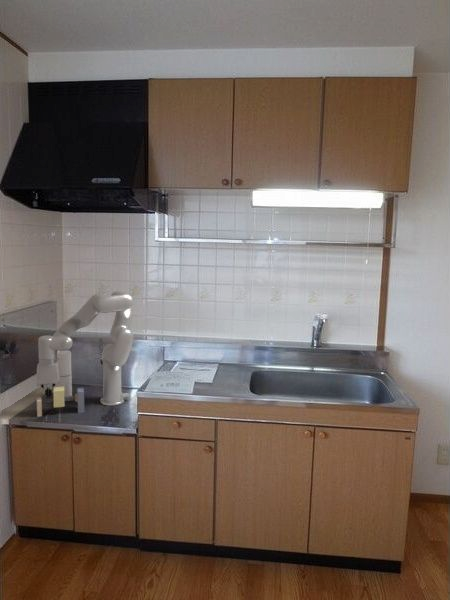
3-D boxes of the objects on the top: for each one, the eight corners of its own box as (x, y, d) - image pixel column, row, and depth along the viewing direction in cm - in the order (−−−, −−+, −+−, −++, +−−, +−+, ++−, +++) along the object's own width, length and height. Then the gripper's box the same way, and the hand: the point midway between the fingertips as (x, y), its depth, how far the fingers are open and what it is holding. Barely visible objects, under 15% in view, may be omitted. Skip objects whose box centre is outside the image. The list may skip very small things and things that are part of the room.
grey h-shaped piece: (83, 407, 231) (83, 387, 229) (84, 412, 226) (84, 391, 224) (37, 412, 224) (37, 391, 222) (37, 417, 218) (36, 395, 216)
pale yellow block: (64, 402, 227) (64, 386, 226) (64, 406, 222) (64, 390, 220) (54, 403, 226) (53, 387, 224) (53, 407, 220) (53, 391, 219)
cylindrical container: (67, 399, 242) (66, 354, 238) (55, 397, 243) (54, 353, 239) (74, 394, 248) (73, 351, 244) (62, 393, 250) (61, 350, 246)
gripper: (63, 357, 224) (64, 392, 227) (31, 359, 219) (32, 395, 222) (63, 362, 217) (64, 397, 220) (30, 364, 212) (31, 401, 215)
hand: (48, 396), depth 221 cm, fingers closed
